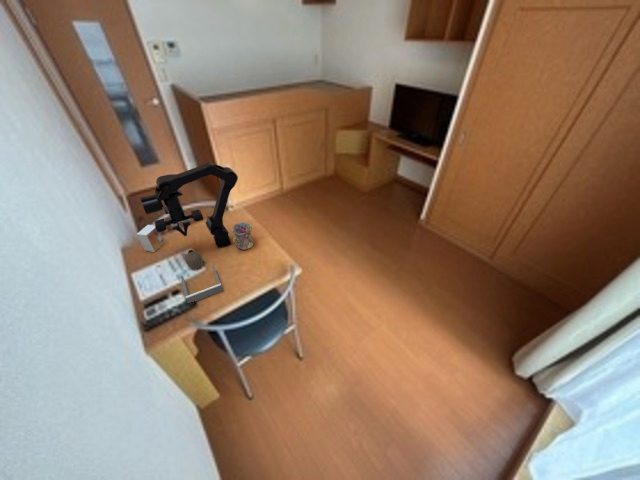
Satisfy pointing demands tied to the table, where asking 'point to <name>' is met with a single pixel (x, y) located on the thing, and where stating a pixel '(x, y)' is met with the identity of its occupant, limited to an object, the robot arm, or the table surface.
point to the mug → (243, 235)
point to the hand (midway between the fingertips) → (185, 235)
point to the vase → (193, 259)
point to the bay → (204, 292)
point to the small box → (150, 238)
